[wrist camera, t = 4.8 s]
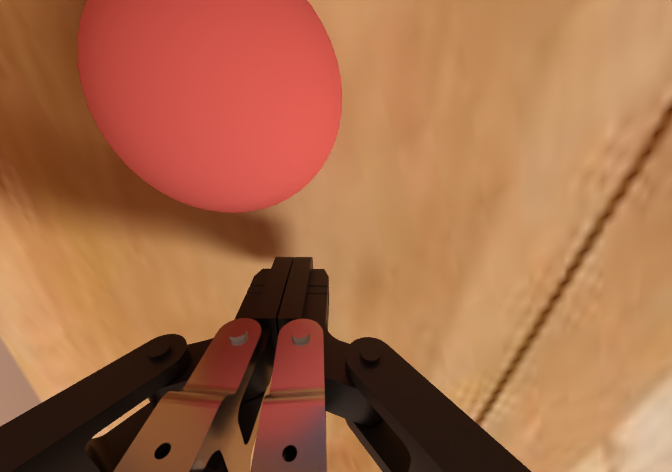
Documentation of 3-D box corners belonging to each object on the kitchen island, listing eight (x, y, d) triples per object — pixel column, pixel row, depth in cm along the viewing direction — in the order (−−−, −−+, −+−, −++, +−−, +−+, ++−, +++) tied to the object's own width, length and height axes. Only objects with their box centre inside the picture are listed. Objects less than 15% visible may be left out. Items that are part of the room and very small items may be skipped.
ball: (335, 262, 8) (331, 154, 12) (374, -49, 4) (347, -44, 8) (101, 255, 7) (184, 145, 12) (-169, -114, 3) (118, -71, 7)
